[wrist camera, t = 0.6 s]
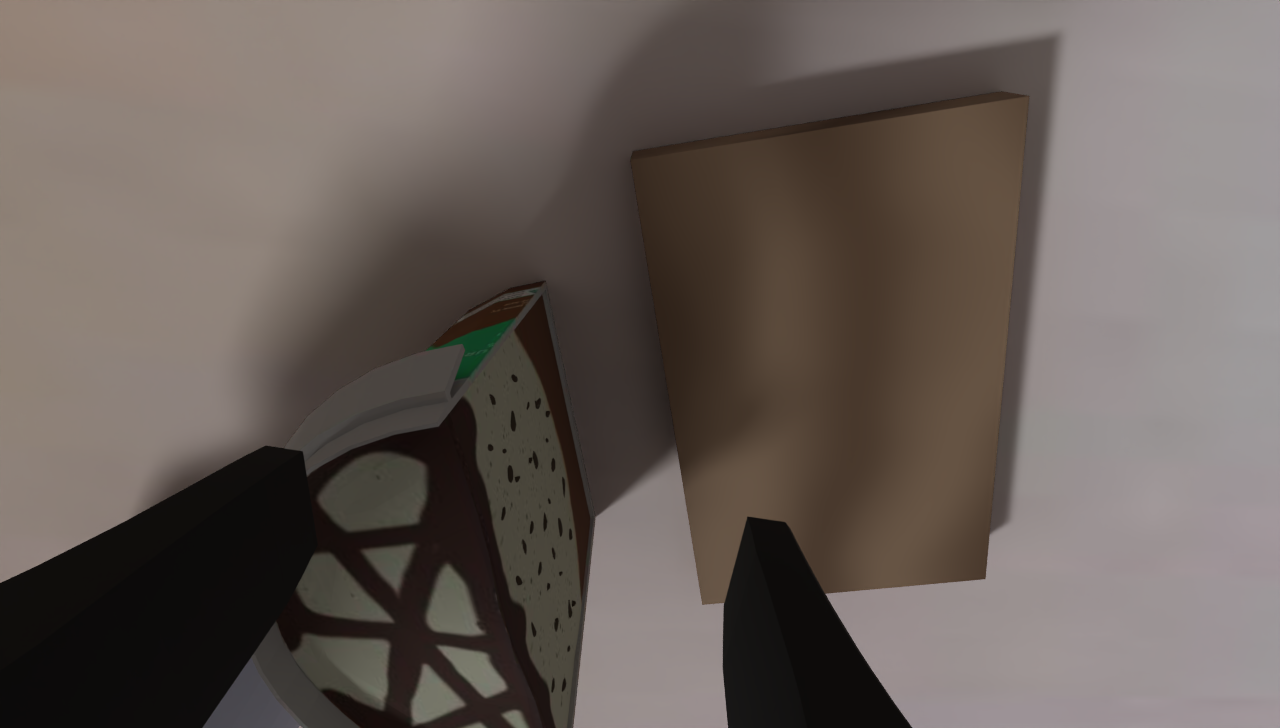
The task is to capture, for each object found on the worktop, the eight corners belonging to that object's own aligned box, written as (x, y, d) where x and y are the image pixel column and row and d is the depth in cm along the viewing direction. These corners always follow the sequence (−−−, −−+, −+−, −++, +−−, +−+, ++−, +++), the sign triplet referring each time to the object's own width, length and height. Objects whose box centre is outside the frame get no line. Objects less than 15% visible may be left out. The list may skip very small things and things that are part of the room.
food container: (341, 258, 20) (88, 431, 11) (535, 233, 20) (428, 394, 11) (447, 561, 26) (330, 840, 17) (602, 548, 25) (567, 829, 16)
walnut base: (700, 574, 26) (702, 604, 24) (632, 151, 19) (630, 160, 17) (967, 549, 25) (985, 579, 23) (1001, 91, 18) (1029, 95, 16)
